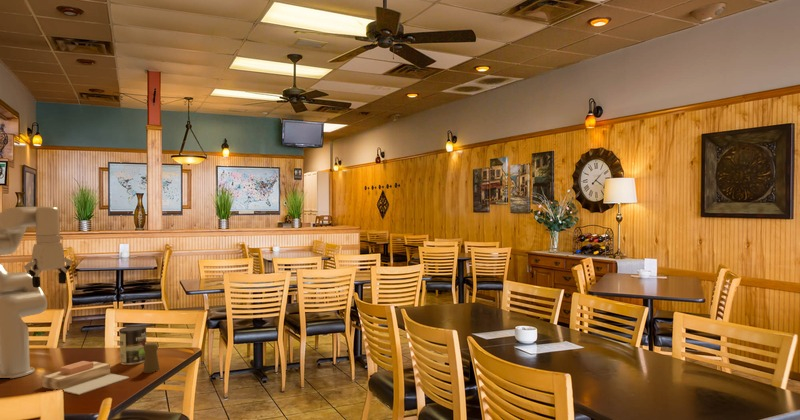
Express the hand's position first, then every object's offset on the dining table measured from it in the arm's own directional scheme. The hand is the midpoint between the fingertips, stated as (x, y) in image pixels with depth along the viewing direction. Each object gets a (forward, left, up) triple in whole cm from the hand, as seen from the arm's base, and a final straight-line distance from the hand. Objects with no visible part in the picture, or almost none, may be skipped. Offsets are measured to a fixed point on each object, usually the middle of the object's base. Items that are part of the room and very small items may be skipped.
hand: (49, 285), depth 209 cm
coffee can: (+5, +31, -37) cm, 48 cm away
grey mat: (+18, +5, -37) cm, 41 cm away
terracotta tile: (+7, +5, -33) cm, 34 cm away
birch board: (+7, +5, -37) cm, 38 cm away
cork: (+23, +25, -37) cm, 50 cm away
